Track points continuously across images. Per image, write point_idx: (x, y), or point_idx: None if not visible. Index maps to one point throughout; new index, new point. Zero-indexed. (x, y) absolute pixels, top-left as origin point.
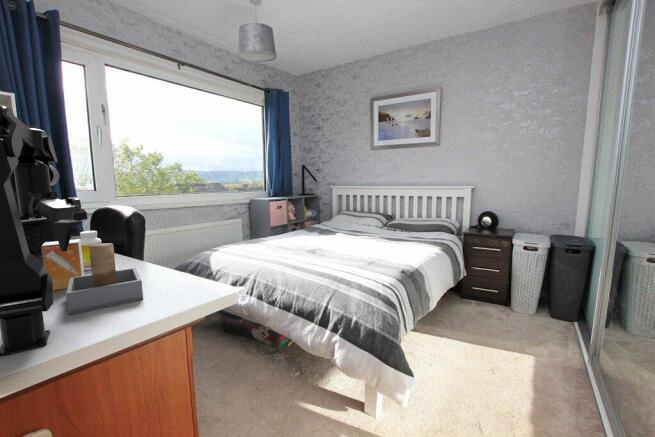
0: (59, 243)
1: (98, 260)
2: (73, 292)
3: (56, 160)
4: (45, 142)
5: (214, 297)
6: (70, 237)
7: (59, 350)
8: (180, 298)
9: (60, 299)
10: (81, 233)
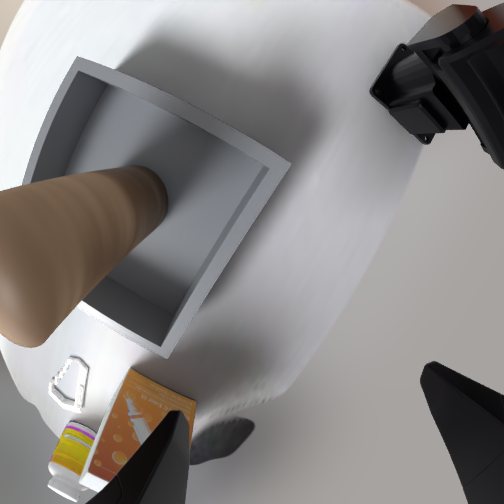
0: (186, 471)
1: (83, 200)
2: (270, 151)
3: None
4: None
5: None
6: (118, 474)
7: (392, 9)
8: (87, 5)
9: (209, 326)
10: (75, 498)
